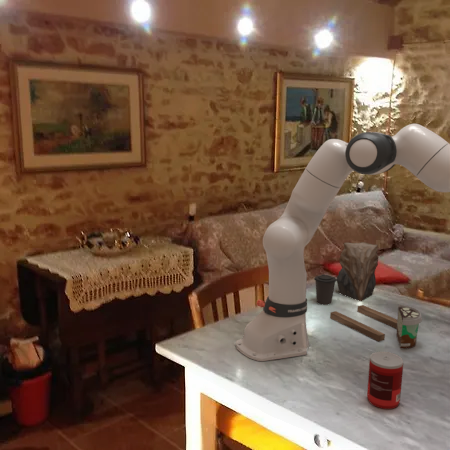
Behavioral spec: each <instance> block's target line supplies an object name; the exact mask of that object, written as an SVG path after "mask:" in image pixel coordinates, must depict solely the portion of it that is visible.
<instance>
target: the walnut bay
mask: <svg viewBox="0 0 450 450" xmlns="http://www.w3.org/2000/svg"><path fill="white" fill-rule="evenodd" d="M357 312H358V313H360V314H361V315H364V316H366V317H369V318H370V319H374V320H376V321H378V322H380V323H382V324H384V325H386V326H388V327H391V328H393V329H395V330H397V319H398V318H395V317H392V316H390V315H387V314H385V313H383V312H381V311H378V310H375V309H373V308H371V307H369V306H367V305H363V304H361V305H358V306H357ZM329 313H330V314H329V318H330V319H331V320H334V321H335V322H338V323H340V324H342V325H343V326H345V327H347V328H350V329H352V330H354V331H356V332H358V333H360V334H362V335H363V336H366V337H369V338H370V339H373V340H374V341H376V342H379V343H380V342H383V341H385V339H386V338H385V336H386V334H385V333H383V332H381V331H379V330H377V329H375V328H373V327H370V326H368V325H366V324H365V323H362V322H360V321H358V320H356V319H354V318H351V317H349V316H347V315H345V314H343V313H341V312H339V311H337V310H336V311H331V312H329Z"/></svg>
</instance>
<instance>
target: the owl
mask: <svg viewBox="0 0 450 450" xmlns="http://www.w3.org/2000/svg"><path fill="white" fill-rule="evenodd" d="M378 251H379V245H378V244H377V243H376V244H372V243H369V242H365V241H364V242H363V241H362V242H358V243H357V242H355V243H352V242H344V243H343V250H342V252H340V257H339V265H340V267H341V268H340V270H339V271H338V275H337V277H336V280H337V281H336V283H337V288H338V289H337V290H338V294H339V293H341V294H343V295H342V296H345V295H346V296H345V297H347V296H348V297H347V298H350V297H351V298H350V299H352V298H353V299H352V300H355V299H356V301H358V300H359V301H358V302H363V301H364V300H366V299H367V298H369V297H371V296H373V292H374V290H375V288H376V283H377V280H376V275H375V274H376V273H375V272H376V269H377V268H378V265H379V255H378ZM341 294H340V295H341ZM362 300H363V301H362Z"/></svg>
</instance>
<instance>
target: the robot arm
mask: <svg viewBox="0 0 450 450" xmlns="http://www.w3.org/2000/svg"><path fill="white" fill-rule="evenodd" d="M395 165H399V166H402V167H403V168H405V169H406V170H408V171H409V172H410V173H411V174H412V175H413V176H415V178H417V179H418V180H419V181H420V182H421V183H423V184H424V185H425V186H427V187H428V188H430V189H432V190H433V191H436V192H439V193H450V143H449V142H448V141H446V140H445V139H444V138H443V137H442V136H440V135H439V134H438V133H436V132H434V131H432V130H430V129H429V128H427V127H425V126H423V125H421V124H419V123H410V124H408V125H407V124H406V125H405V126H404V127H402V128H401V129H399V131H398V132H396V134H394V135H392V136H391V135H390V134H386V133H383V132H378V131H363V132H361V133H358V134H357V135H354V136H353V137H352V138H351V139H350V140H349V142H347V141H344V140H341V139H338V138H330V139H327V140H326V141H325V142H323V143H322V145H320V147H319V148H318V150H317V151H316V152H315V153H314V155H313V156H312V158H311V159H310V161H309V162H308V164H307V165H306V167H305V169H304V171H303V172H302V173H301V175H300V176H299V178H298V181H297V183H296V184H295V187H294V188H293V189H292V191H291V195H290V198H289V200H288V202H287V205H286V207H285V209H284V210H283V213H282V214H281V216H280V217H279V218H278V219H277V220H275V221H273V222H272V223H270V224H269V225H268V226H267V228H266V230H265V232H264V235H263V236H262V246H263V250H264V251H265V253H266V261H267V267H268V296H267V297H266V300H265V301H264V300H263V299H260V298H259V299H257V301H256V305H257V306H258V307H260V308H262V311H261V312H259V313H258V314H257V315H256V316H255V317H254V318H253V319H252V320H251V321H250V322H248V324H246V326H245V327H244V330H243V331H244V332H243V336H242V338H240V339H237V340H236V341H235V348H236V350H238V351H239V352H240V353H241V354H243V355H244V356H246V357H247V358H249V359H251V360H254V361H258V362H267V361H273V360H279V359H286V358H292V357H298V356H306V355H307V354H308V348H309V347H310V343H311V342H310V339H309V336H308V332H307V331H308V330H307V329H308V328H307V318H306V317H307V316H306V315H307V314H306V313H307V311H308V299H307V285H308V284H307V279H308V274H307V271H306V264H305V256H304V255H305V253H304V251H305V248H306V246H307V245H308V244H309V243H310V242H311V240H312V239H313V237H314V235H315V233H316V231H317V230H318V228H319V226H320V225H321V222H322V221H323V219H324V216H325V215H326V213H327V211H328V209H329V207H330V206H331V204H332V203H333V201H334V199H335V198H336V196H337V194H338V193H339V191H340V189H341V188H342V187H343V185H344V183H345V181H346V179H348V177H349V175H351V173H353V172H355V173H358V174H359V175H368V176H370V175H371V176H375V175H376V176H377V175H380V174H382V173H383V174H384V173H385V172H388V171H390V170H392V169H393V167H395Z"/></svg>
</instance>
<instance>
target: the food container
mask: <svg viewBox="0 0 450 450" xmlns="http://www.w3.org/2000/svg"><path fill="white" fill-rule="evenodd" d="M396 319H397V329H396V340H397V343H398V346H399V349H404V350H405V349H406V350H407V349H411V348H414V347H415V346H416V343H417V338H418V337H417V336H418V331H419V326H420V325H419V324H421V323H422V320H423V319H422V314H421V311H420V310H419V309H417V308H416V307H415V308H414V307H412V306H410V305H404V304H398V306H397V318H396Z"/></svg>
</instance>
